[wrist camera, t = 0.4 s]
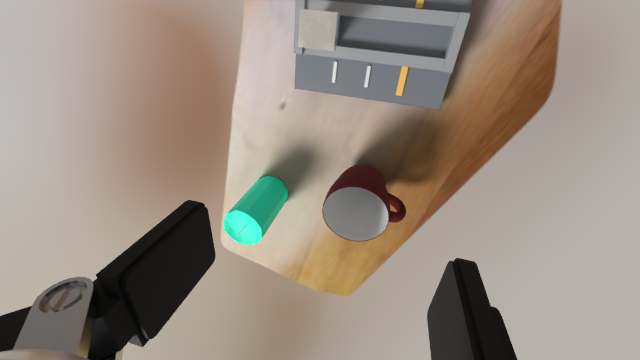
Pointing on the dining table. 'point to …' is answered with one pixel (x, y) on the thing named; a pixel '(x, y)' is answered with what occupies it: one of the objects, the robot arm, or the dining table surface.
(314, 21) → the fader tab
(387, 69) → the console
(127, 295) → the robot arm
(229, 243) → the dining table surface
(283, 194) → the candle
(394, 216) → the mug
